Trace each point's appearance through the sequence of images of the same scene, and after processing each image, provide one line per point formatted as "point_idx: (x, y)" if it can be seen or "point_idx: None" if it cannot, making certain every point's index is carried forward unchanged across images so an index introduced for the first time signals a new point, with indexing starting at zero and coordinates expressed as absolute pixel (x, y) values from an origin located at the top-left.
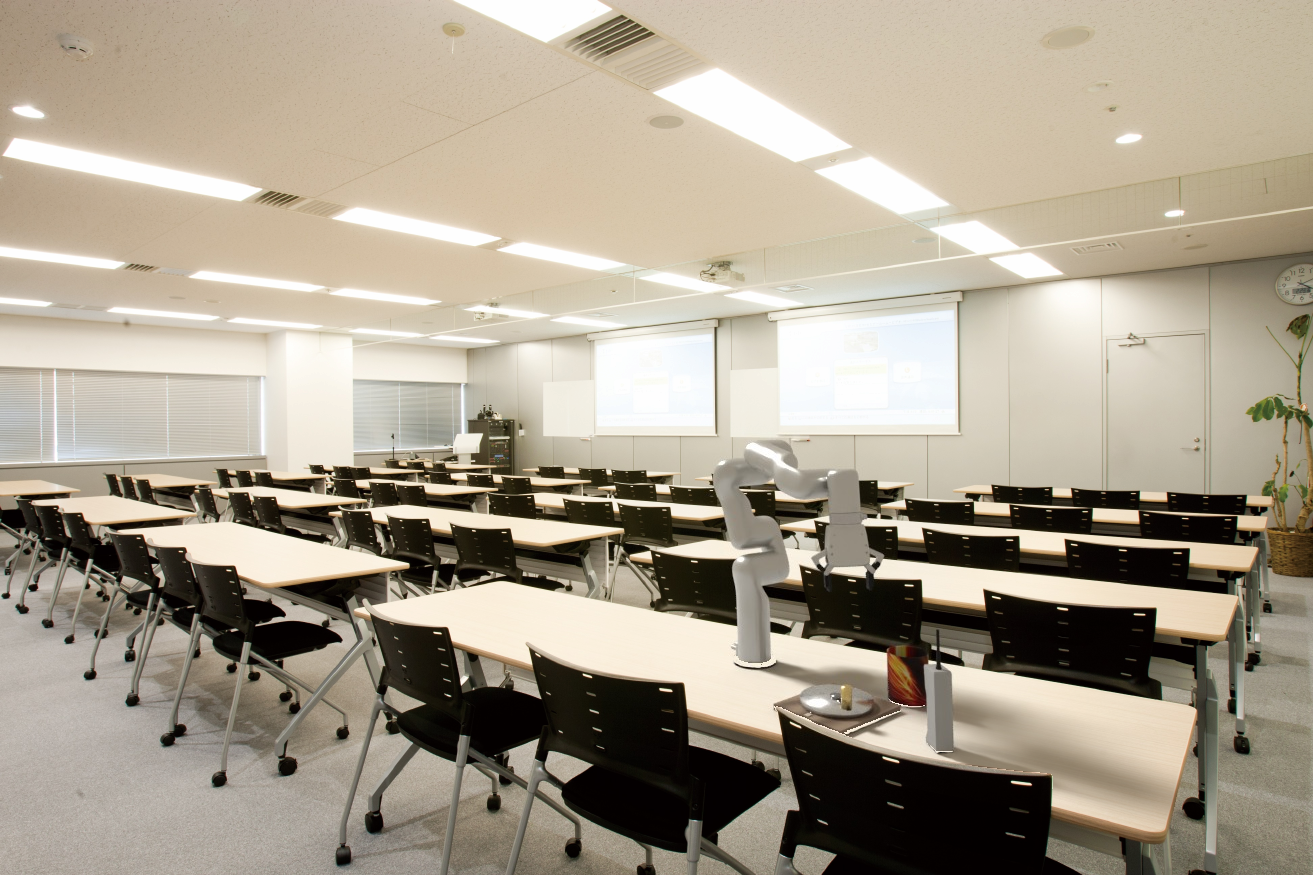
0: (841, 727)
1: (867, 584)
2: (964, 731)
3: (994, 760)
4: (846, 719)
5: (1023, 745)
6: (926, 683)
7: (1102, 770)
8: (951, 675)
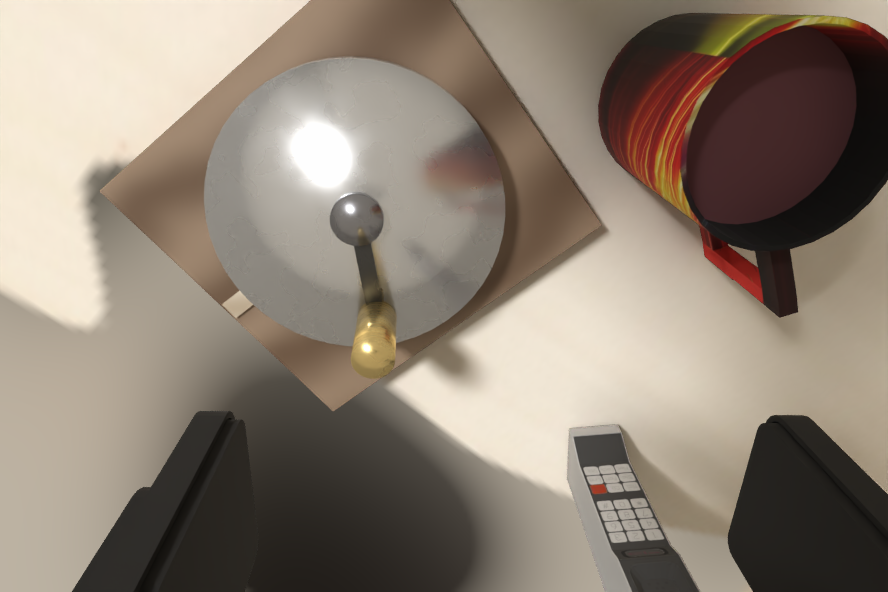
0: (341, 388)
1: (775, 511)
2: (715, 362)
3: (685, 502)
4: None
5: None
6: (621, 585)
7: None
8: None
